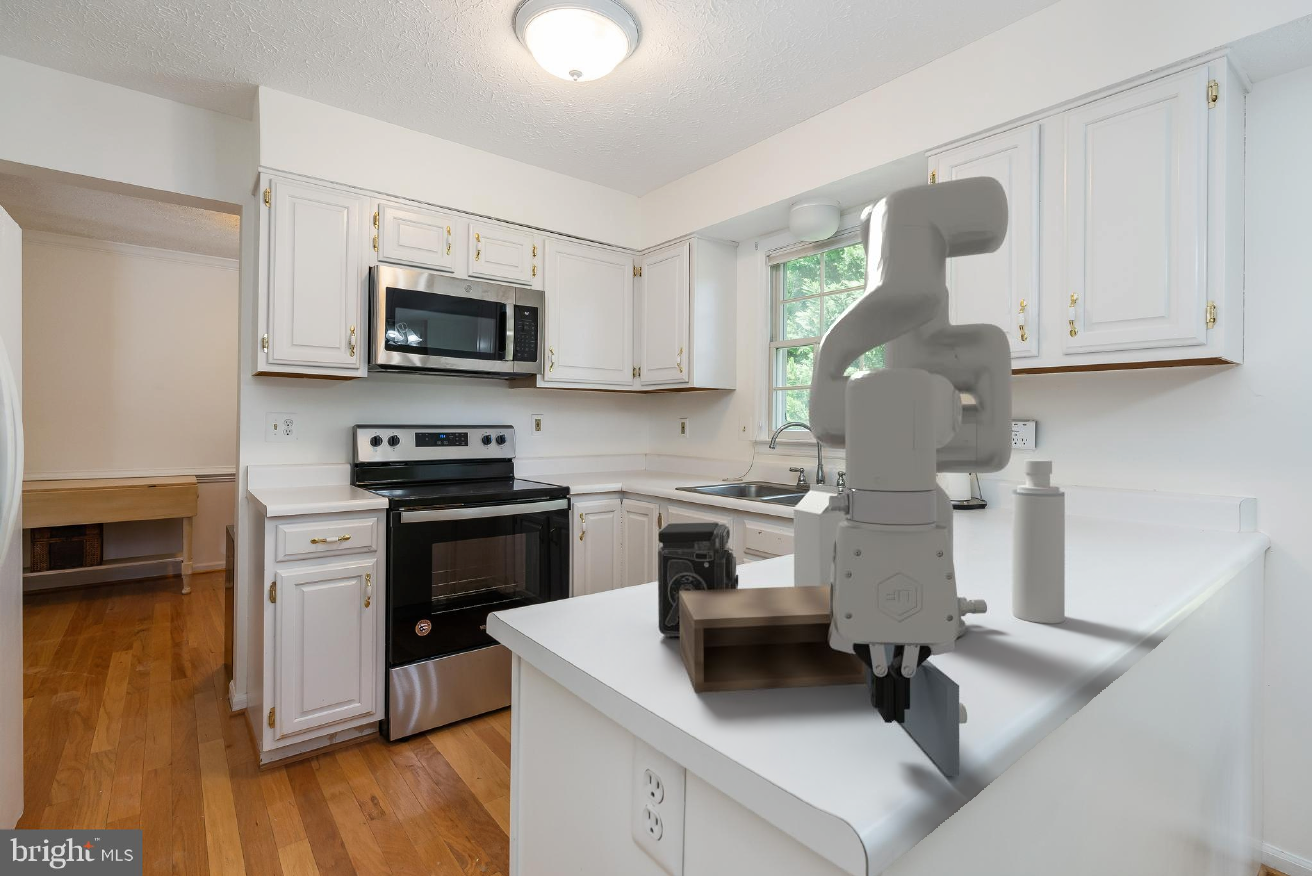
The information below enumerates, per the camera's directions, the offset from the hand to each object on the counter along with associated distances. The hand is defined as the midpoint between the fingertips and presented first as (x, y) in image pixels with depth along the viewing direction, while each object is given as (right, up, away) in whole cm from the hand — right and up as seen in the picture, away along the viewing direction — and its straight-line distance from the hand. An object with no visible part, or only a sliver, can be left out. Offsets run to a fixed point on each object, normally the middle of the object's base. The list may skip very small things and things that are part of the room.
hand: (890, 715), depth 56 cm
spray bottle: (+36, -2, +38) cm, 53 cm away
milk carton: (+7, -3, +49) cm, 49 cm away
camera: (-15, -3, +33) cm, 37 cm away
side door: (+4, -3, +5) cm, 7 cm away
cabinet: (-7, -3, +20) cm, 22 cm away
